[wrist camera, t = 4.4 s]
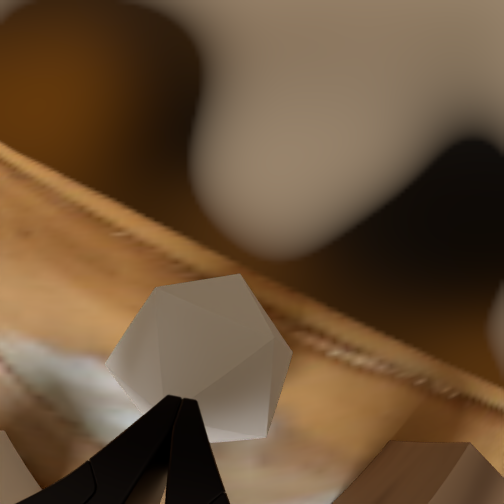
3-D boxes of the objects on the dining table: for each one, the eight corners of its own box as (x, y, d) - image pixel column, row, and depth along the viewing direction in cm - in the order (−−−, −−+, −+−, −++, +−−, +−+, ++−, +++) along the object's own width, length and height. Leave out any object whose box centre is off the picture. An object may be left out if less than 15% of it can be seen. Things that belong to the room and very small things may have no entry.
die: (297, 342, 20) (254, 212, 15) (311, 464, 13) (253, 354, 8) (184, 363, 21) (114, 254, 17) (165, 473, 14) (45, 377, 9)
